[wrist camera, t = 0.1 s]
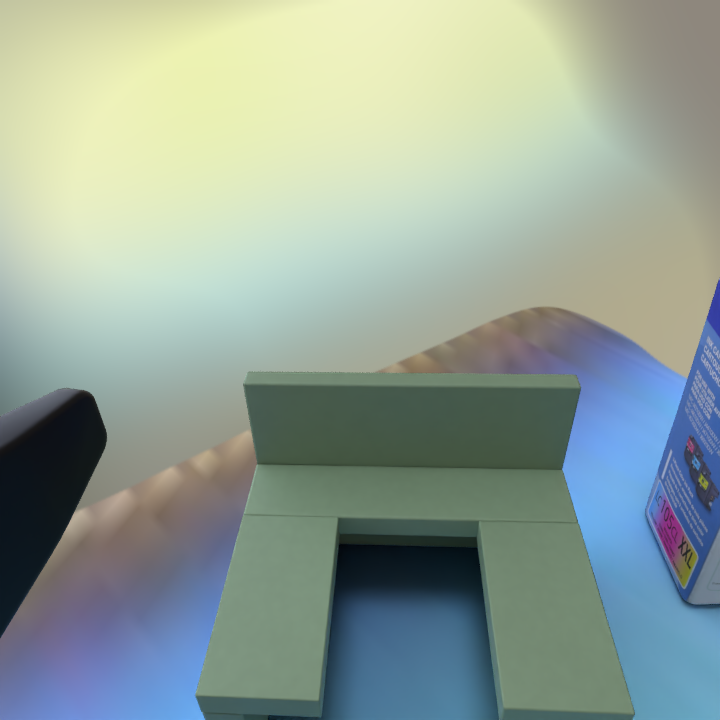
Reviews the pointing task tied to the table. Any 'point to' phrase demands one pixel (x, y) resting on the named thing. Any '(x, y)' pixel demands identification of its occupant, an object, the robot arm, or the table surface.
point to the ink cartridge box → (693, 476)
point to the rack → (412, 534)
